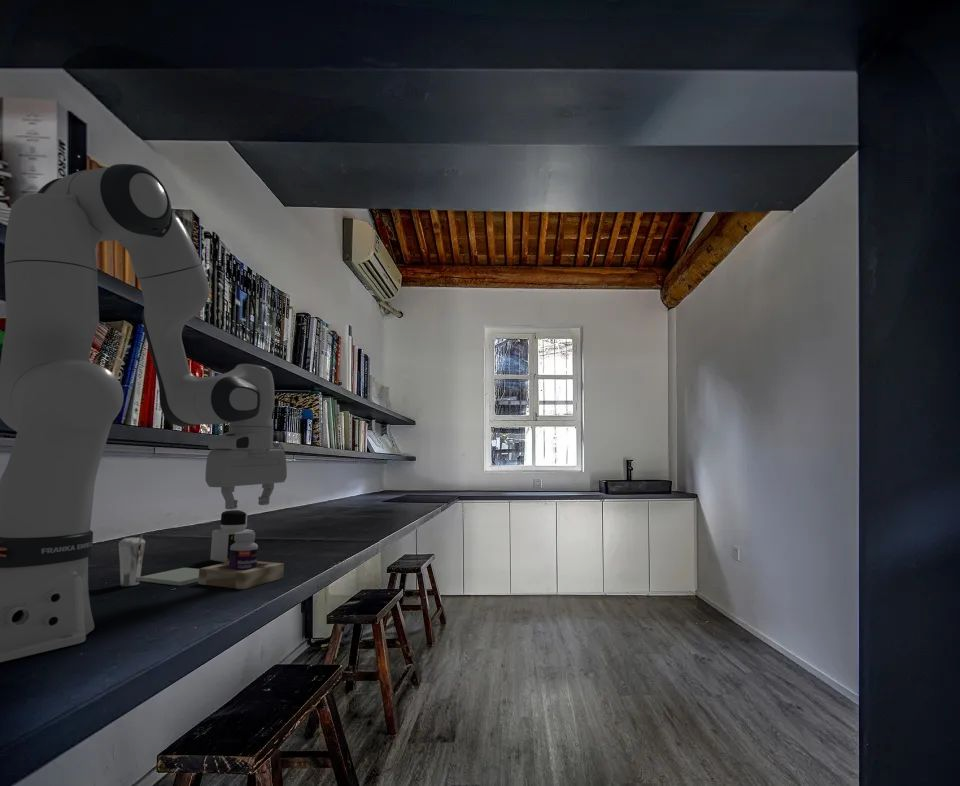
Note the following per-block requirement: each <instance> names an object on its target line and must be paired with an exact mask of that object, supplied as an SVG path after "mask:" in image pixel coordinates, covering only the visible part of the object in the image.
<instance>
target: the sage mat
mask: <svg viewBox="0 0 960 786" xmlns="http://www.w3.org/2000/svg"><path fill="white" fill-rule="evenodd" d="M198 580H199V568H194V567H193V568H191V567H181V568H175V569H171V570H167V571H160V572H157V573H151V574H147V575H142V576H140V582H144V583H154V584H162V585H171V586H176V587H177V586H179V587H182V586H185V585H189V584H190V585H191V584H192V583H198Z"/></svg>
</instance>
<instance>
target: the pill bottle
mask: <svg viewBox="0 0 960 786" xmlns="http://www.w3.org/2000/svg"><path fill="white" fill-rule="evenodd" d="M234 540H235V543H234V544H232V545H231V547H230V556H229V569H233V570H242V571H245V570H249V569H253V568H257V561H258V551H259V545H258V544H257V543H255V540H256V533H255V531H254V532H238V533H235V536H234Z"/></svg>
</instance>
